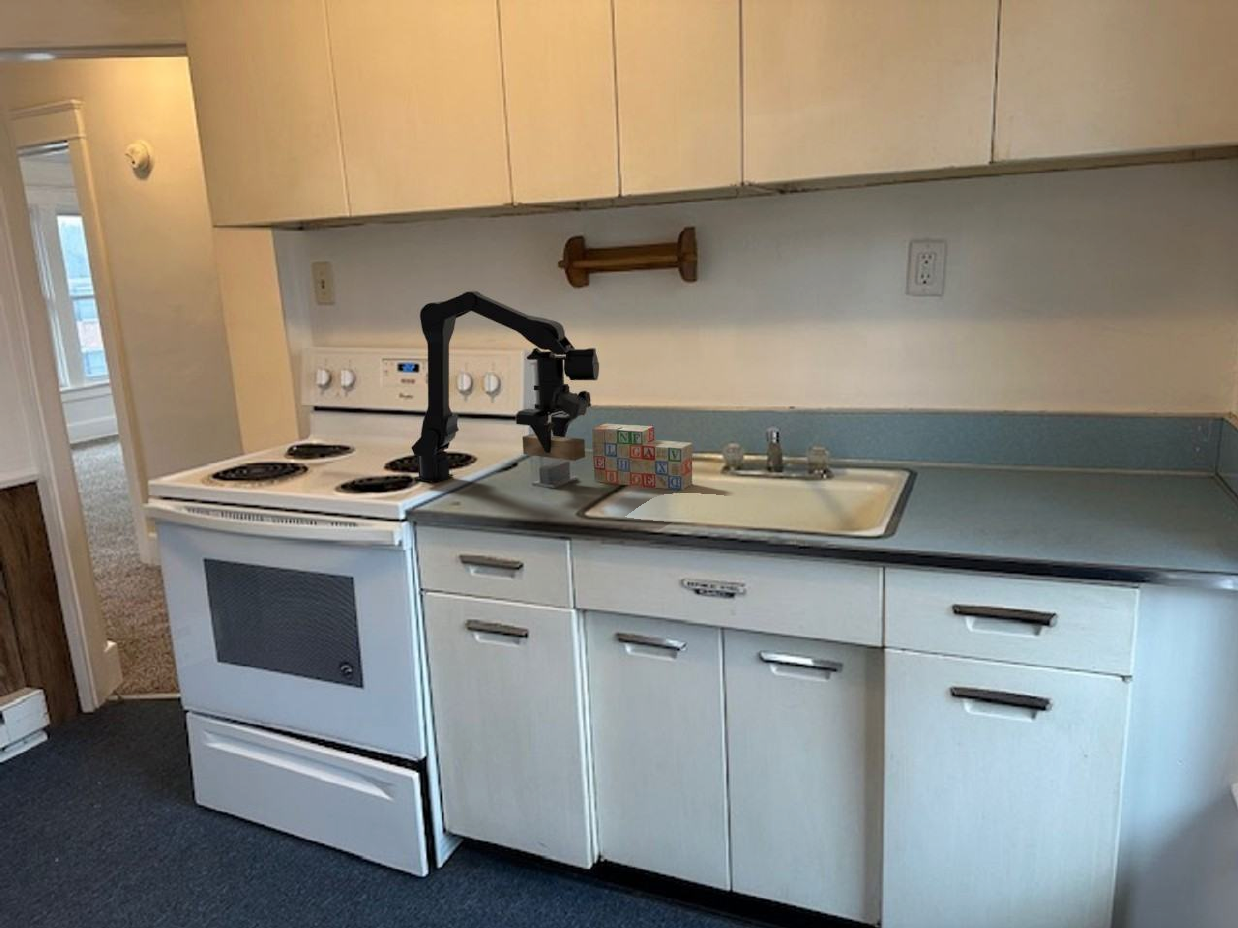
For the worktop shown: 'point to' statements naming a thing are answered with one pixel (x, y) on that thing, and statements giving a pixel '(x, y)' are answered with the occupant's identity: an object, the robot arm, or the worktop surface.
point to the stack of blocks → (640, 458)
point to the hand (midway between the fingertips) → (553, 450)
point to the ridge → (555, 475)
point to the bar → (555, 447)
